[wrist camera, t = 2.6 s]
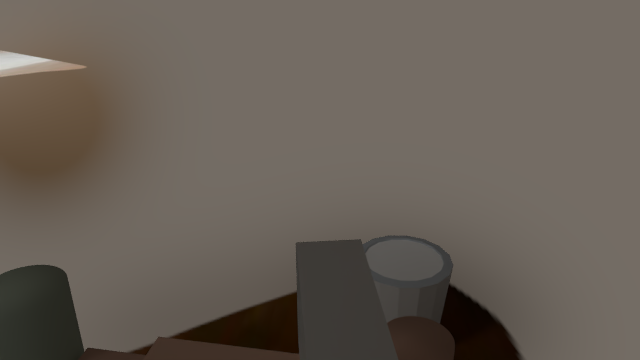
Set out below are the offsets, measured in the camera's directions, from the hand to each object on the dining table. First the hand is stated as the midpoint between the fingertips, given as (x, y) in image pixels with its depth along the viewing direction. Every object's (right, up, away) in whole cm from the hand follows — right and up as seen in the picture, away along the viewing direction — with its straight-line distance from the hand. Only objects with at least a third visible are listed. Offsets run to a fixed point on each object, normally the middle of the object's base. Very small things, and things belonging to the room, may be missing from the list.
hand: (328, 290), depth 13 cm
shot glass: (+6, -9, +28) cm, 30 cm away
